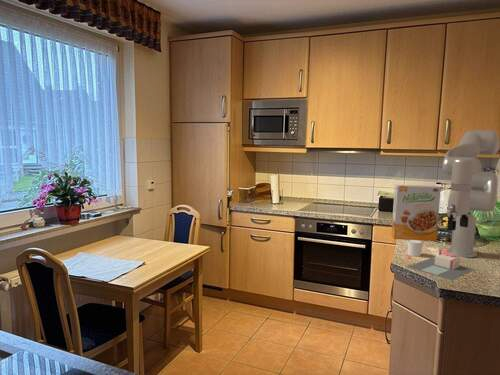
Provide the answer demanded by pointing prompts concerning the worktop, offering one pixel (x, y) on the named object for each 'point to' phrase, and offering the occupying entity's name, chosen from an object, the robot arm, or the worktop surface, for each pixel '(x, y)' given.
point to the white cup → (414, 247)
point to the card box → (447, 261)
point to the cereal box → (415, 212)
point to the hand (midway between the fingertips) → (457, 228)
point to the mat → (440, 269)
